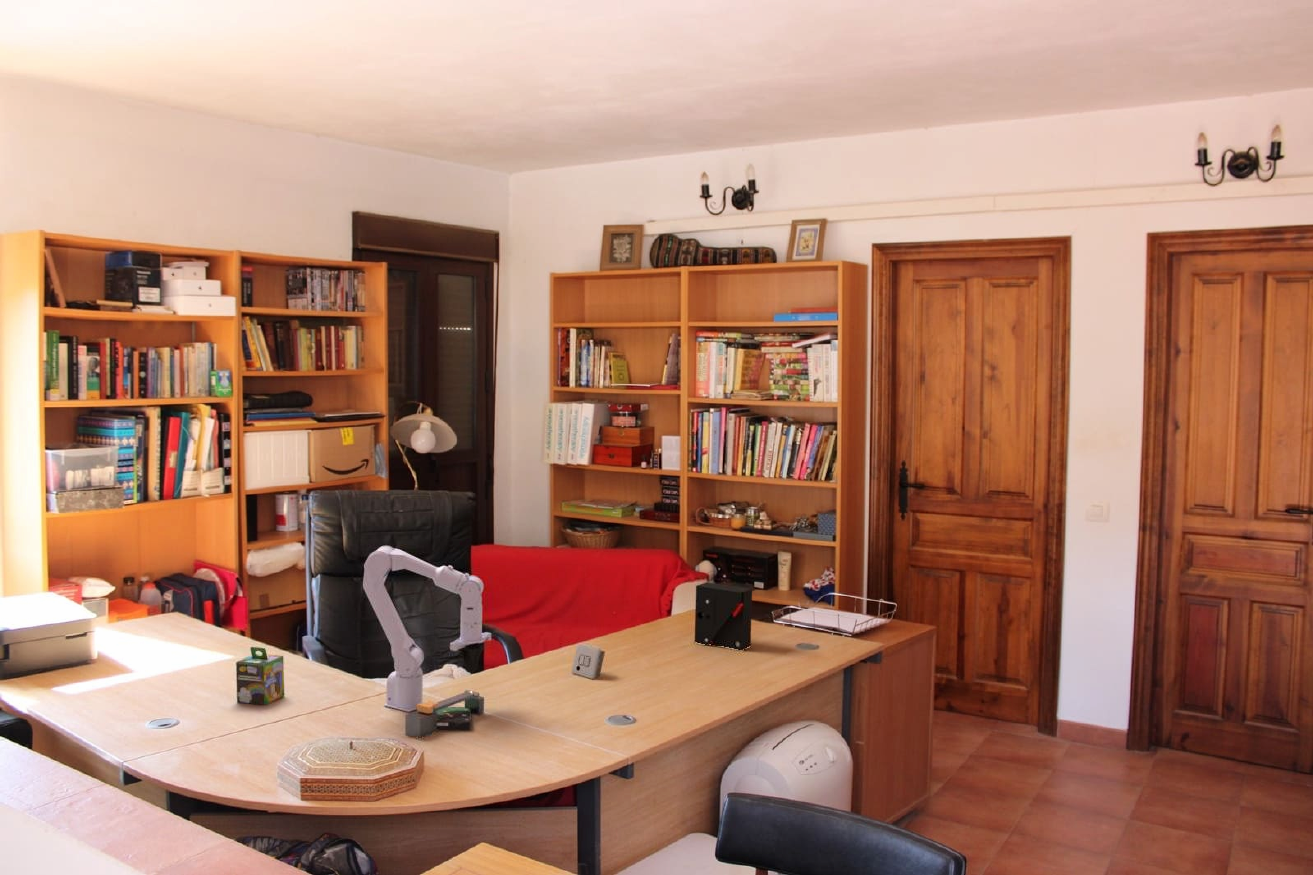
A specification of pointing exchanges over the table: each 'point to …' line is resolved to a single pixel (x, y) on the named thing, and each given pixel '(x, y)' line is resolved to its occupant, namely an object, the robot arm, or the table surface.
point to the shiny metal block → (427, 723)
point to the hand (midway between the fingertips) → (470, 671)
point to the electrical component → (723, 615)
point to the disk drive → (454, 719)
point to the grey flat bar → (455, 700)
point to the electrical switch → (588, 661)
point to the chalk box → (260, 678)
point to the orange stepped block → (426, 707)
